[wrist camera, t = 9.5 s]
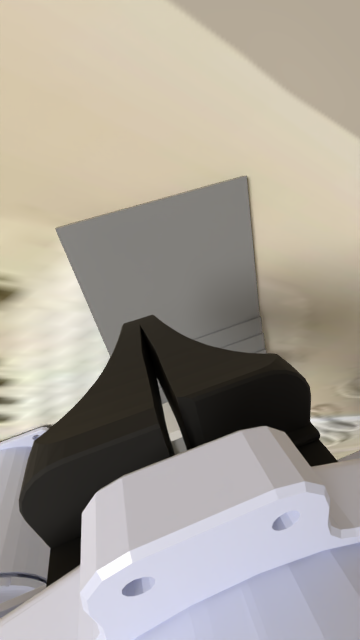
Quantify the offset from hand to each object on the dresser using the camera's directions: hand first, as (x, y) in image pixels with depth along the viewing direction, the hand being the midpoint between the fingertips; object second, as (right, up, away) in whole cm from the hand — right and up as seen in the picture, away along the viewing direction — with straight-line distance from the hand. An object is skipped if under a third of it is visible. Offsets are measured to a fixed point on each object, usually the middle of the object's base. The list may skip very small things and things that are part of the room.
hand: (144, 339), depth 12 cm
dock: (+2, -1, +11) cm, 11 cm away
